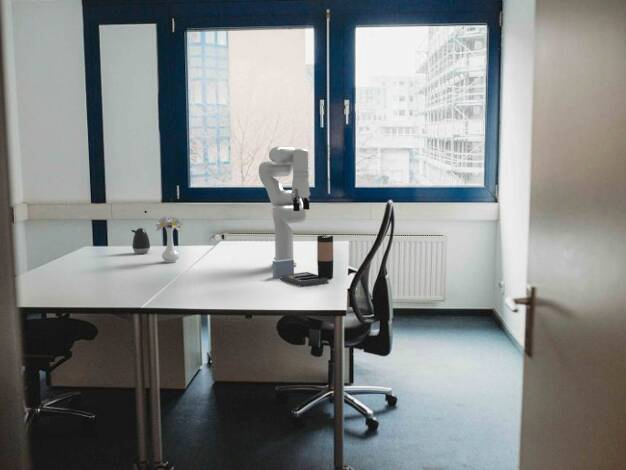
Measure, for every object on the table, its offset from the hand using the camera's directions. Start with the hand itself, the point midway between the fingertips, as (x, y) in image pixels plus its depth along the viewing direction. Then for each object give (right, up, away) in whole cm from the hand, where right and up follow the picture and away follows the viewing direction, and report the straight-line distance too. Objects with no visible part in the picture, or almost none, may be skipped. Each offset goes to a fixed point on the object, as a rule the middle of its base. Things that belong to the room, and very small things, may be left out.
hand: (301, 210), depth 333 cm
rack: (+2, -34, -14) cm, 36 cm away
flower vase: (-73, -27, +43) cm, 88 cm away
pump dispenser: (-96, -23, +72) cm, 122 cm away
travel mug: (+12, -33, -5) cm, 35 cm away
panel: (-9, -32, -1) cm, 33 cm away
